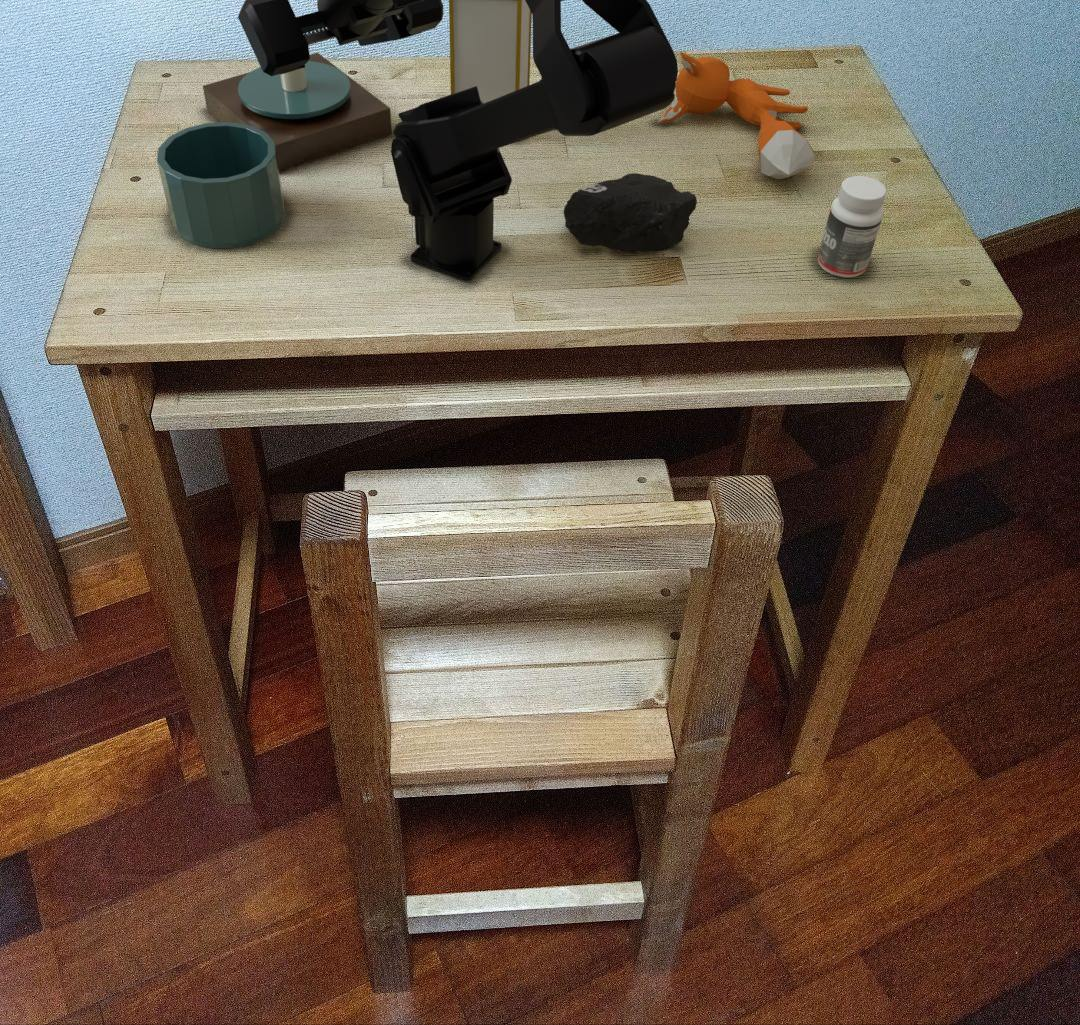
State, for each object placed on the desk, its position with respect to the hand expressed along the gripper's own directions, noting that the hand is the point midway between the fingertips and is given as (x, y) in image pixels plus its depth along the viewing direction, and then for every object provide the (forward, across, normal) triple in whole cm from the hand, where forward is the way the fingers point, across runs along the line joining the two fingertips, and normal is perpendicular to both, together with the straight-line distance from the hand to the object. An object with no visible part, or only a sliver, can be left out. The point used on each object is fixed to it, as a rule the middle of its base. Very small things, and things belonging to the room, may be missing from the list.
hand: (318, 52), depth 111 cm
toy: (-9, -38, +24) cm, 46 cm away
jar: (+4, +14, +11) cm, 19 cm away
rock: (-13, -16, +28) cm, 35 cm away
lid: (+9, 0, 0) cm, 9 cm away
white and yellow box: (+3, -16, +12) cm, 20 cm away
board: (+12, 0, +3) cm, 12 cm away
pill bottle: (-24, -30, +40) cm, 55 cm away
